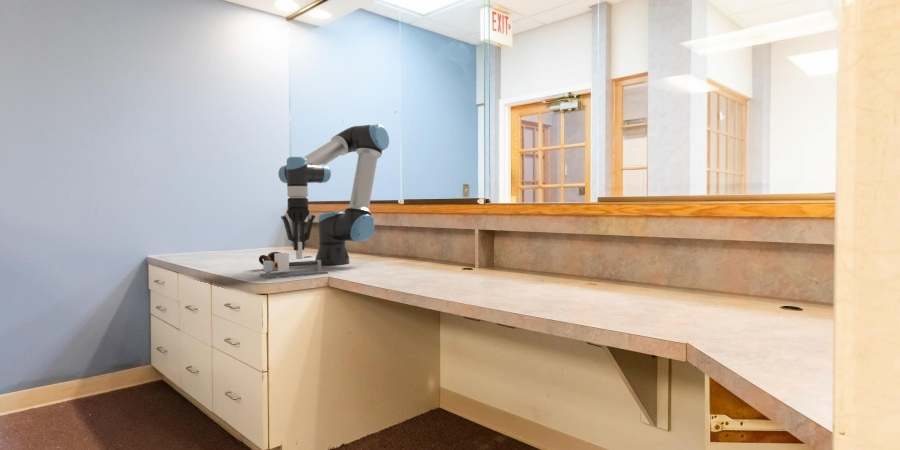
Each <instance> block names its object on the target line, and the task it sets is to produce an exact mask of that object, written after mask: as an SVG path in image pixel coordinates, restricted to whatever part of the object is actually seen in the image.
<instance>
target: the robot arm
mask: <svg viewBox="0 0 900 450" xmlns="http://www.w3.org/2000/svg"><path fill="white" fill-rule="evenodd" d="M389 145H390V137H389V133H388V131H387V129H386V128H385V126H384V125H382V124H380V123H378V124H377V123H376V124H374V123H371V124H365V125H364V124H363V125H355V126H351V127H348V128H346V129H344V130H342V131H340V132H339V133H337V134H336V135H334V136H332V137H331V138H330V141H328V142H327V143H325V144H324V145H322V146H320V147H318V148H317V149H315V150H313V151H312V152H310V153H308V154H306V155H305V156H289V157H288V158H286V165H282V166H281V167H279V170H278V178H279V180H280V181H281V182H282V183H284V184H286V185H287V187H286V188H287V189H286V190H287V192H286V193H287V194H286V195H287V197H288V198H287V210H286V214H284V215H281V216H280V219H281V221H282V222H283V224H284V228H285V231H286V235H287V239H288V240H289V241H291V242H292V243H293V244H292V245H293V251H295V255H296V258H295V259H297V260H303V251H304V250H305V242H306V241H308V240H310V236H311V231H312V226H313V222H314V221H315V219H316V216H315V215H314V214H312V213H310V210H309V199H308V198H307V197H308V196H309V193H308V190H309V189H308V185H309V184H315V183H317V184H323V183H324V184H325V183H327V182H329V180H330V179H331V176H332V171H331V168H330V167H329V166H328V165H327V164H329V163H330V162H332V161H334V160H335V159H336V158H338V157H340V156H346V155H347V154H349V153H354V152H356V153H357V155H358V156H357V163H356V166H355V174H354V177H353V185H352V190H351V195H350V201H349V205H348V206H347V207H346V208H345V209H344V211H331V212H330V211H329V212H324V213H321V214H319V215H318V223H317V226H318V249H317V253H316V255H315V259H314V261H315V260H321V266H334V265H335V266H336V265H337V266H338V265H339V266H340V265H346V264H349V263H350V256H349V253H348V251H347V250H348V249H347V247H346V241H347V242H349V241H350V242H356V243H359V242H366V241H368V240H369V239H370V238H371V237H372V235H373V234H374V232H375V228H376V227H375V226H376V224H375V219H374V217H373V216H372V212H371V210H370V205H371V204H370V203H371V200H372V199H371V196H372V192H373V186H374V179H375V174H376V169H377V163H378V159H379V158H381V157H382V154H383V151H385V150H386V149H387V148H388V147H389ZM289 219H290V220H291V223H290V221H289ZM307 219H308V220H307ZM306 220H307V223H306ZM305 223H306V226H305ZM290 224H292V227H291V226H290ZM298 225H299V226H298ZM305 227H306V228H305Z"/></svg>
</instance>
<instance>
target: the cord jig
mask: <svg viewBox="0 0 900 450" xmlns="http://www.w3.org/2000/svg"><path fill="white" fill-rule="evenodd" d="M313 265H314V268H313V269H312V268H310V269H301V270H289V271H275V268H277V267H278V266H277V263H274V262H273V261H264V260H263V267H262V268H263V273H259V276H260V277H263V278H264V277H265V279H267V278H270V279H278V278H277V277H281V278H289V276H293V277H302V276H301V275H304V276H314V275H315V274H316V275H326V274H328V273H329V271H328V270H324V269H322V265H321V260H315V259H314V260H304V261H289V268H290V267H301V266H303V267H305V266H313ZM273 271H274V272H273Z"/></svg>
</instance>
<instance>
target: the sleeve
mask: <svg viewBox="0 0 900 450" xmlns="http://www.w3.org/2000/svg"><path fill="white" fill-rule="evenodd" d="M274 256H275V263H277V266H278V267H277V268H275V269H274V271H275V272H285V271H290V267H289V262H290V254H289V253H288V252H287V253H286V252H280V253H276V254H274Z"/></svg>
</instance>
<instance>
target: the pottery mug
mask: <svg viewBox="0 0 900 450" xmlns="http://www.w3.org/2000/svg"><path fill="white" fill-rule="evenodd" d="M276 253H281V252H280V251H272V252H270V253H268V254H267V255H266V254H261V255H260V256H259V257H258V261H259V263H260V264H261V265H263V261H273V262H274V263H275V256H274V254H276Z"/></svg>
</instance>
